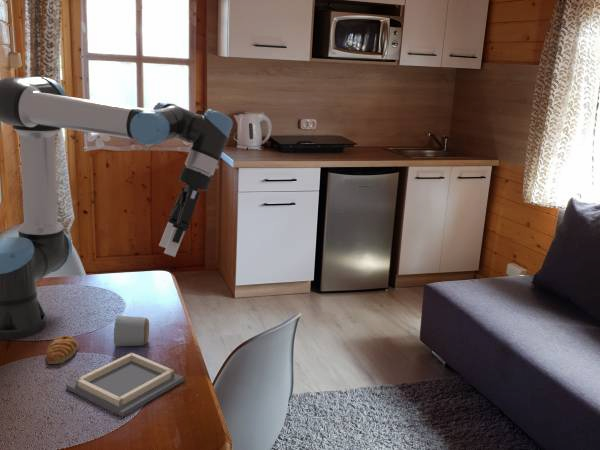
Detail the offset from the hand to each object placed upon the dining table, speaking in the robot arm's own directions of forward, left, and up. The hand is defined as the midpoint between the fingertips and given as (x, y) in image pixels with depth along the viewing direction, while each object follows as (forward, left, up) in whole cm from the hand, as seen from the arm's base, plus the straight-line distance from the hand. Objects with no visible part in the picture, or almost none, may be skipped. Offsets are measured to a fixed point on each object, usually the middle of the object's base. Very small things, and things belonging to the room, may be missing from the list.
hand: (166, 251), depth 149 cm
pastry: (-15, -20, -25) cm, 36 cm away
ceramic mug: (-7, -5, -25) cm, 27 cm away
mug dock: (+8, -21, -25) cm, 33 cm away
